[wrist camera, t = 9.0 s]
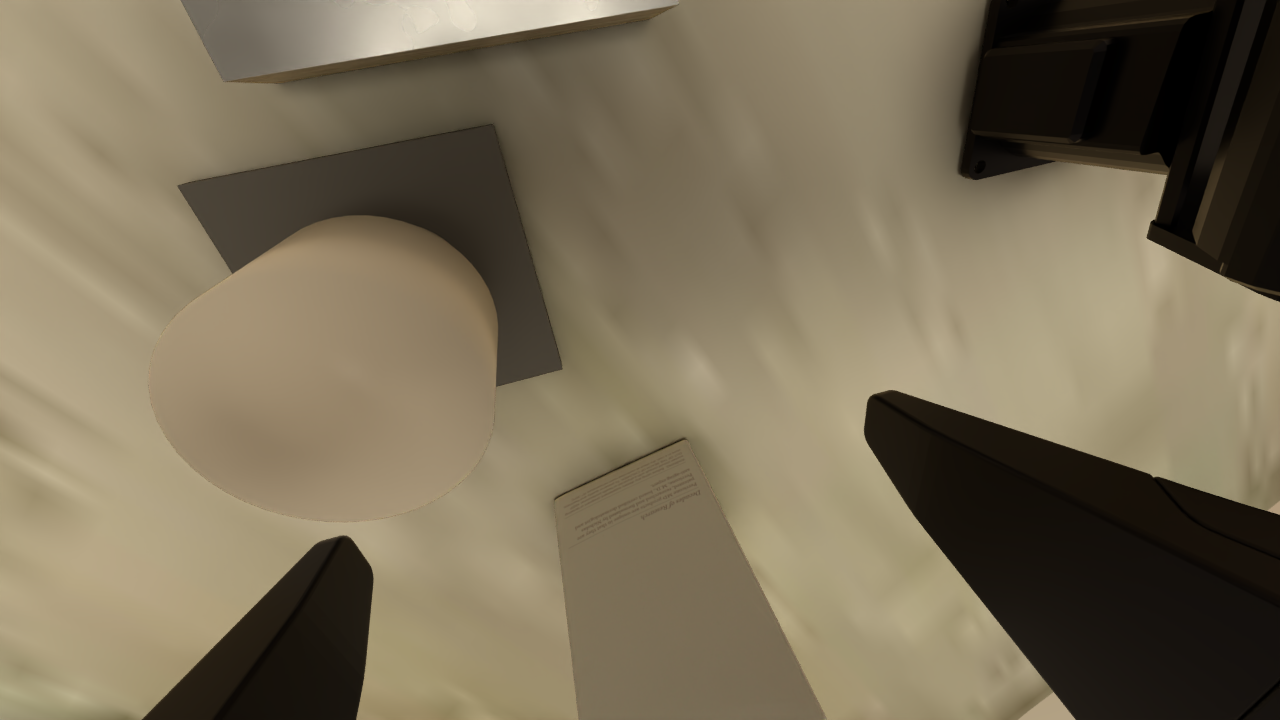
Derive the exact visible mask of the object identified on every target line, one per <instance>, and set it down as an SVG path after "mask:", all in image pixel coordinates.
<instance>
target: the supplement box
mask: <svg viewBox="0 0 1280 720" xmlns="http://www.w3.org/2000/svg"><path fill="white" fill-rule="evenodd" d="M554 509H555V518H556V528H557V538H558V547H559V555H560V563H561V571H562V580H563V589H564V598H565V607H566V616H567V624H568V633H569V641H570V649H571V658H572V667H573V676H574V684H575V692H576V701H577V710H578V718H579V720H827V718H826V716H825V714H824V712H823V710H822V708H821V706H820V704H819V702H818V700H817V698H816V696H815V694H814V692H813V690H812V688H811V686H810V684H809V682H808V680H807V678H806V676H805V674H804V672H803V670H802V668H801V666H800V664H799V662H798V660H797V658H796V656H795V654H794V652H793V650H792V648H791V646H790V644H789V642H788V640H787V638H786V636H785V634H784V632H783V630H782V628H781V626H780V624H779V622H778V620H777V618H776V616H775V614H774V612H773V610H772V608H771V606H770V604H769V602H768V600H767V598H766V596H765V594H764V592H763V590H762V588H761V586H760V584H759V582H758V580H757V578H756V576H755V574H754V572H753V570H752V568H751V566H750V564H749V562H748V560H747V558H746V556H745V554H744V552H743V550H742V548H741V546H740V544H739V542H738V540H737V538H736V536H735V534H734V532H733V530H732V528H731V526H730V525H729V523H728V521H727V518H726V516H725V514H724V512H723V510H722V508H721V506H720V504H719V502H718V500H717V498H716V496H715V494H714V492H713V490H712V488H711V486H710V484H709V482H708V480H707V478H706V476H705V474H704V472H703V470H702V468H701V466H700V464H699V462H698V460H697V458H696V456H695V455H694V453H693V451H692V449H691V446H690V444H689V442H688V441H687V440H682V441H680V442H677V443H675V444H673V445H671V446H669V447H666V448H664V449H662V450H660V451H657V452H655V453H653V454H651V455H649V456H647V457H644V458H642V459H640V460H638V461H635V462H633V463H631V464H629V465H627V466H625V467H622V468H620V469H618V470H615V471H613V472H611V473H609V474H607V475H605V476H603V477H601V478H599V479H596V480H594V481H592V482H590V483H588V484H585V485H583V486H581V487H579V488H577V489H574V490H572V491H570V492H568V493H566V494H564V495H562V496H560V497H559V498H557V499H556V500H555V502H554Z"/></svg>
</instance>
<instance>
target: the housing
mask: <svg viewBox="0 0 1280 720" xmlns="http://www.w3.org/2000/svg"><path fill="white" fill-rule="evenodd" d="M181 2H182V4H183V5H184V7H185V9H186V11H187V13H188V15H189V17H190V19H191V21H192V23H193V24H194V26H195V28H196V30H197V32H198V34H199V36H200V38H201V40H202V42H203V44H204V45H205V47H206V49H207V51H208V53H209V55H210V57H211V59H212V61H213V63H214V64H215V66H216V68H217V70H218V72H219V74H220V76H221V78H222V80H223V82H243V83H273V84H278V83H284V82H289V81H295V80H301V79H307V78H313V77H318V76H324V75H330V74H336V73H342V72H347V71H353V70H359V69H365V68H371V67H376V66H382V65H388V64H394V63H400V62H405V61H411V60H417V59H423V58H429V57H434V56H440V55H446V54H452V53H457V52H463V51H469V50H475V49H481V48H486V47H492V46H498V45H504V44H510V43H515V42H521V41H527V40H533V39H539V38H544V37H550V36H556V35H562V34H568V33H573V32H579V31H585V30H591V29H596V28H602V27H608V26H614V25H620V24H625V23H631V22H637V21H643V20H649V19H651V18H653V17H655V16H657V15H659V14H661V13H663V12H665V11H667V10H669V9H671V8H673V7H675V6H677V5H679V1H678V0H181Z"/></svg>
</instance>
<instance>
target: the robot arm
mask: <svg viewBox="0 0 1280 720" xmlns="http://www.w3.org/2000/svg"><path fill="white" fill-rule="evenodd" d="M1006 1H1007V0H992V1H991V4H990V9H989V15H988V21H987V26H986V32H985V37H984V43H983V49H982V54H981V60H980V66H979V71H978V77H977V82H976V88H975V94H974V99H973V105H972V111H971V116H970V122H969V127H968V133H967V139H966V144H965V150H964V156H963V161H962V167H961V173H962V176H963V177H965V178H967V179H972V180H979V179H983V178H987V177H991V176H996V175H1000V174H1004V173H1008V172H1013V171H1017V170H1021V169H1025V168H1030V167H1034V166H1038V165H1042V164H1047V163H1051V162H1055V161H1060V162H1068V163H1076V164H1084V165H1092V166H1100V167H1107V168H1115V169H1123V170H1131V171H1139V172H1147V173H1155V174H1163V175H1167V178H1166V182H1165V186H1164V189H1163V193H1162V196H1161V200H1160V204H1159V207H1158V211H1157V215H1156V218H1155V220H1153V221H1151V223H1150V226H1149V230H1148V234H1147V239H1149V240H1151V241H1153V242H1155V243H1157V244H1159V245H1161V246H1163V247H1165V248H1167V249H1169V250H1171V251H1173V252H1175V253H1177V254H1179V255H1181V256H1183V257H1185V258H1187V259H1189V260H1191V261H1193V262H1195V263H1198V264H1200V265H1202V266H1204V267H1206V268H1208V269H1210V270H1212V271H1214V272H1216V273H1218V274H1220V275H1222V276H1224V277H1226V278H1227V279H1229V280H1230V281H1232V282H1235V283H1238V284H1240V285H1242V286H1244V287H1246V288H1248V289H1250V290H1252V291H1254V292H1256V293H1258V294H1261V295H1263V296H1266V297H1268V298H1271V299H1273V300H1276V301H1279V302H1280V0H1009V2H1008V5H1007V6H1006ZM976 164H977V167H976V169H975V170H974V168H975V166H976ZM864 435H865V439H866V441H867V443H868V445H869V447H870V448H871V450H872V451H873V453H874V455H875V456H876V458H877V459H878V461H879V462H880V464H881V465H882V467H883V469H884V470H885V472H886V473H887V475H888V476H889V478H890V479H891V481H892V483H893V484H894V486H895V487H896V489H897V490H898V492H899V494H900V495H901V497H902V498H903V500H904V501H905V503H906V504H907V506H908V507H909V509H910V510H911V512H912V513H913V515H914V516H915V517H916V519H917V520H918V521H919V523H920V524H921V525H922V526H923V528H924V529H925V530H926V532H927V533H928V534H929V535H930V537H931V538H932V539H933V540H934V542H935V543H936V544H937V545H938V547H939V548H940V549H941V550H942V552H943V553H944V554H945V555H946V557H947V558H948V559H949V561H950V562H951V563H952V564H953V566H954V567H955V568H956V569H957V571H958V572H959V573H960V574H961V576H962V577H963V578H964V579H965V581H966V582H967V583H968V584H969V586H970V587H971V588H972V590H973V591H974V592H975V593H976V595H977V596H978V597H979V598H980V600H981V601H982V602H983V603H984V605H985V606H986V607H987V608H988V610H989V611H990V612H991V613H992V615H993V616H994V617H995V619H996V620H997V621H998V622H999V624H1000V625H1001V626H1002V627H1003V629H1004V630H1005V631H1006V632H1007V634H1008V635H1009V636H1010V637H1011V639H1012V640H1013V641H1014V642H1015V644H1016V645H1017V646H1018V647H1019V649H1020V650H1021V651H1022V653H1023V654H1024V655H1025V656H1026V658H1027V659H1028V660H1029V661H1030V663H1031V664H1032V665H1033V666H1034V668H1035V669H1036V670H1037V671H1038V673H1039V674H1040V675H1041V676H1042V678H1043V679H1044V680H1045V682H1046V683H1047V684H1048V685H1049V687H1050V688H1051V689H1052V690H1053V692H1054V693H1055V694H1056V695H1057V696H1058V698H1059V699H1060V700H1061V702H1062V703H1063V704H1064V705H1065V707H1066V708H1067V709H1068V710H1069V712H1070V713H1071V714H1072V716H1073V717H1074V718H1075V719H1076V720H1280V515H1278V514H1275V513H1271V512H1268V511H1265V510H1261V509H1258V508H1254V507H1251V506H1248V505H1245V504H1241V503H1238V502H1235V501H1232V500H1229V499H1226V498H1222V497H1219V496H1216V495H1213V494H1210V493H1207V492H1203V491H1200V490H1197V489H1194V488H1191V487H1188V486H1185V485H1182V484H1179V483H1176V482H1173V481H1170V480H1167V479H1164V478H1161V477H1154V478H1153V477H1152V476H1151V475H1150V474H1148V473H1145V472H1142V471H1139V470H1136V469H1133V468H1130V467H1127V466H1124V465H1121V464H1118V463H1115V462H1112V461H1109V460H1106V459H1102V458H1099V457H1096V456H1093V455H1090V454H1087V453H1084V452H1081V451H1078V450H1075V449H1072V448H1069V447H1066V446H1063V445H1060V444H1057V443H1054V442H1051V441H1048V440H1045V439H1042V438H1038V437H1035V436H1032V435H1029V434H1026V433H1023V432H1020V431H1017V430H1014V429H1011V428H1008V427H1005V426H1002V425H999V424H996V423H993V422H990V421H987V420H984V419H981V418H978V417H975V416H971V415H968V414H965V413H962V412H959V411H956V410H953V409H950V408H947V407H944V406H941V405H938V404H935V403H932V402H929V401H926V400H923V399H920V398H917V397H914V396H911V395H907V394H904V393H901V392H898V391H895V390H888V391H884V392H881V393H877V394H873V395H872V396H870V397H869V399H868V402H867V409H866V417H865V426H864ZM372 591H373V572H372V569H371V566H370V564H369V563H368V561H367V560H366V559H365V557H364V556H363V554H362V553H361V551H360V550H359V549H358V547H357V546H356V544H355V543H354V541H353V540H352V539H351V538H350V537H348V536H338V537H334V538H331V539H327V540H323V541H321V542H318V543H317V544H315V545H314V546H313V547H312V548H311V549H310V550H309V551H308V552H307V553H306V554H305V555H304V556H303V557H302V558H301V559H300V560H299V561H298V562H297V563H296V564H295V565H294V566H293V567H292V568H291V569H290V570H289V571H288V572H287V573H286V574H285V575H284V577H283V578H282V579H281V580H280V581H279V582H278V583H277V584H276V585H275V586H274V587H273V588H272V589H271V590H270V591H269V592H268V593H267V594H266V595H265V596H264V597H263V598H262V599H261V600H260V601H259V602H258V603H257V604H256V605H255V606H254V607H253V608H252V609H251V610H250V611H249V612H248V613H247V614H246V615H245V616H244V617H243V618H242V619H241V620H240V621H239V622H238V623H237V624H236V625H235V626H234V627H233V628H232V629H231V630H230V631H229V632H228V633H227V634H226V635H225V636H224V637H223V638H222V639H221V640H220V641H219V642H218V643H217V644H216V645H215V646H214V647H213V648H212V649H211V650H210V651H209V652H208V653H207V654H206V655H205V656H204V657H203V658H202V659H201V660H200V661H199V662H198V663H197V664H196V665H195V666H194V667H193V668H192V669H191V670H190V671H189V673H188V674H187V675H186V676H185V677H184V678H183V679H182V680H181V681H180V682H179V683H178V684H177V685H176V686H175V687H174V688H173V689H172V690H171V691H170V692H169V693H168V694H167V695H166V696H165V697H164V698H163V699H162V700H161V701H160V702H159V703H158V704H157V705H156V706H155V707H154V708H153V709H152V710H151V711H150V712H149V713H148V714H147V715H146V716H145V717H144V718H143V719H142V720H356V717H357V712H358V707H359V702H360V697H361V692H362V686H363V681H364V673H365V665H366V656H367V645H368V634H369V624H370V613H371V602H372Z"/></svg>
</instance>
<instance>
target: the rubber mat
mask: <svg viewBox="0 0 1280 720" xmlns="http://www.w3.org/2000/svg"><path fill="white" fill-rule="evenodd" d="M178 188H179V189H180V191H181V193H182V194H183V196H184V197H185V199H186V201H187V202H188V204H189V205H190V207H191V208H192V210H193V212H194V213H195V215H196V216H197V218H198V220H199V221H200V223H201V224H202V226H203V227H204V229H205V231H206V232H207V234H208V235H209V237H210V239H211V240H212V242H213V243H214V245H215V247H216V248H217V250H218V251H219V253H220V254H221V256H222V258H223V259H224V261H225V262H226V264H227V266H228V267H229V269H230V270H231V272H232V273H235V272H236V271H238V270H239V269H241V268H242V267H244V266H245V265H247V264H248V263H250V262H251V261H253V260H254V259H256V258H257V257H259V256H260V255H262V254H263V253H265V252H266V251H268V250H269V249H271V248H273V247H274V246H276V245H277V244H279V243H280V242H282V241H283V240H285V239H286V238H288V237H289V236H291V235H292V234H294V233H295V232H297V231H299V230H300V229H302V228H304V227H307V226H309V225H311V224H313V223H316V222H319V221H323V220H326V219H330V218H335V217H342V216H352V215H369V216H378V217H386V218H391V219H395V220H399V221H403V222H406V223H409V224H412V225H415V226H418V227H421V228H424V229H426V230H428V231H430V232H433V233H435V234H436V235H438V236H439V237H441V238H443V239H444V240H445V241H446V242H448V243H449V244H450V245H451V246H453V247H454V248H455V249H456V250H458V251H459V252H460V253H461V254H462V255H463V256H464V257H465V258H466V259H467V260H468V261H469V262H470V263H471V264H472V265H473V266H474V268H475V269H476V270H477V272H478V273H479V274H480V275H481V277H482V279H483V280H484V282H485V284H486V285H487V287H488V289H489V291H490V294H491V296H492V299H493V301H494V305H495V309H496V312H497V320H498V344H497V368H496V386H500V385H504V384H508V383H512V382H515V381H519V380H523V379H527V378H531V377H535V376H539V375H542V374H546V373H550V372H554V371H558V370H562V364H561V360H560V356H559V353H558V349H557V346H556V342H555V339H554V335H553V332H552V328H551V325H550V321H549V318H548V314H547V311H546V307H545V304H544V300H543V297H542V293H541V290H540V286H539V283H538V279H537V276H536V272H535V269H534V265H533V262H532V258H531V255H530V251H529V248H528V244H527V241H526V237H525V234H524V230H523V227H522V223H521V220H520V216H519V212H518V209H517V205H516V202H515V198H514V195H513V191H512V188H511V184H510V181H509V177H508V174H507V170H506V167H505V163H504V160H503V156H502V153H501V149H500V146H499V142H498V139H497V135H496V132H495V128H494V125H493V124H490V125H485V126H480V127H474V128H469V129H464V130H459V131H454V132H448V133H443V134H438V135H433V136H428V137H422V138H417V139H412V140H407V141H402V142H396V143H391V144H386V145H381V146H376V147H370V148H365V149H360V150H355V151H350V152H344V153H339V154H334V155H329V156H324V157H318V158H313V159H308V160H303V161H298V162H292V163H287V164H282V165H277V166H272V167H266V168H261V169H256V170H251V171H245V172H240V173H235V174H230V175H225V176H219V177H214V178H209V179H204V180H199V181H193V182H189V183H185V184H182V185H178Z"/></svg>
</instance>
